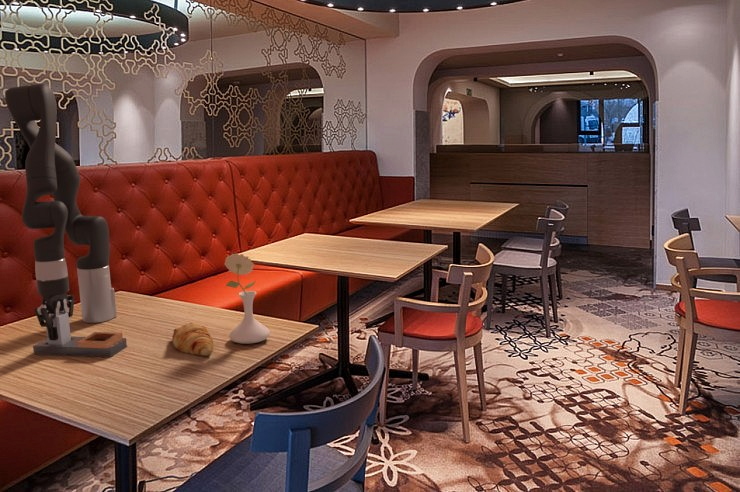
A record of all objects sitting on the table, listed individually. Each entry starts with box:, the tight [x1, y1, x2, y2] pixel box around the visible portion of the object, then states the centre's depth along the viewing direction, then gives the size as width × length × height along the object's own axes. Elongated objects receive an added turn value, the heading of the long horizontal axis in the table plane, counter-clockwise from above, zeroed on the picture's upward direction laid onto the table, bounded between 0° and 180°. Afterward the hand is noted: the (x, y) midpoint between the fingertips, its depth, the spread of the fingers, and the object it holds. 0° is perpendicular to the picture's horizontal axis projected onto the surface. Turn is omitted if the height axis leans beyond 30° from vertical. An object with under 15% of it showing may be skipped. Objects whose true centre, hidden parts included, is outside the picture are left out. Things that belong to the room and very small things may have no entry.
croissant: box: [171, 322, 215, 357], centre depth 161 cm, size 21×10×8 cm, turn 42°
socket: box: [32, 331, 128, 358], centre depth 160 cm, size 22×8×4 cm, turn 83°
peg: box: [45, 313, 72, 345], centre depth 160 cm, size 4×4×10 cm
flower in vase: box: [224, 252, 271, 345], centre depth 165 cm, size 13×11×25 cm
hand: (59, 336), depth 161 cm, fingers closed on peg, 4 cm apart
